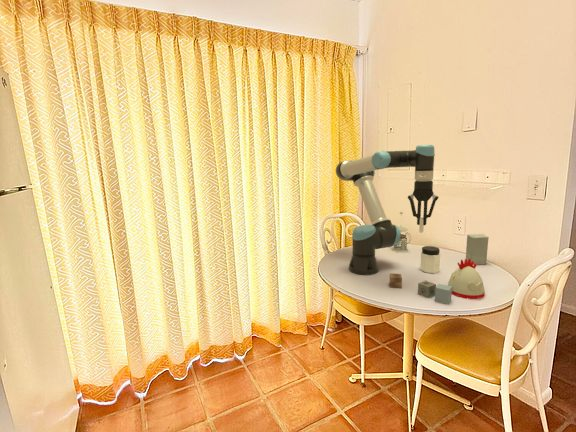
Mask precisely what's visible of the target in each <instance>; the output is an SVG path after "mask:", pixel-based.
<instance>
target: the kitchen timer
mask: <svg viewBox="0 0 576 432" xmlns="http://www.w3.org/2000/svg"><path fill="white" fill-rule="evenodd" d="M473 264H474V261H472V262H471V260H470V259H468V262H467V259H466V258H464V260H463V259H460V262H457V266H458V268H456V269H455V270H454V271H453V272H452V273H451V275H450V277H449V279H448V283H447V285H448V286H452V295H453V296H454V297H458V298H461V297H462V298H461V299H467V298H468V299H467V300H480V299H483V298H484V297H485V285H484V280H483V279H482V276H481V275H480V273H479V272H478V271H477V270H476V267H477V266H478V264H476V263H475V264H474V265H473Z"/></svg>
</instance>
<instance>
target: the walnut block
mask: <svg viewBox="0 0 576 432" xmlns="http://www.w3.org/2000/svg"><path fill="white" fill-rule="evenodd" d="M389 287H390V288H392V289H402V288H403V276H402V273H389Z"/></svg>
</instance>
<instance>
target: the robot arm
mask: <svg viewBox="0 0 576 432" xmlns="http://www.w3.org/2000/svg"><path fill="white" fill-rule="evenodd" d="M435 156H436V154H435V146H434V145H433V144H420V145H417V146H415V150H391V151H390V150H389V151H388V150H386V151H385V150H380V151H376V152H374V154H371V155H368V156H365V157H361V158H358V159H355V160H354V159H353V160H343V161H340V162H339V163H338V164H337V165H336V168H335V174H336V176H337V177H338V179H340V180H342V181H344V182H345V181H346V182H348V181H350V182H351V181H352V183H353V185H354V186H355V187H357V188H358V192H359V193H360V194H359V195H360V196H361V199H362V201H363V205H364V207H365V210H366V213H367V215H368V217H369V220H370V224H365V225H359V226H356V227H354V228H353V230H352V236H351V238H352V244H351V245H352V246H351V247H352V248H351V249H352V252H351V253H352V255H351V259H350V262H349V263H348V270H349V271H350V272H351V273H353V274H357V275H362V276H363V275H364V276H366V275H367V276H368V275H375V274H376V273H378V272H379V264H378V261H377V259H376V250H379V249H384V248H385V249H386V248H392V247H394V246H395V245H397V244H398V242H399V240H400V230H399V228H398V227H399V226H398V225H396V224H393V223H392V221H391V219H390V218H387V216H386V213H385V210H384V208H383V205H382V203H381V200H380V198H379V196H378V193H377V191H376V187H375V185H374V183H373V181H374V180H375V179H374V177H375V174H376V173H375V171H378V170H384V169H391V168H414V180H415V181H414V186H413V187H414V189H413V192H412V193H411V194H410V195H408V196H407V199H408V200H409V203H410V208H411V212H412V213H411V214H412V216H413V217H415V218H416V225H417V226H419V228H418V229H419V230H418V232H419V233H421V234H423V233H424V227H425V226H426V225H427V219H428V218H431V217H432V214H433V211H434V208H435V206H436V205H435V204H436V202H437V201H438V199H440V198H439V195H436V194H435V192H434V191H433V190H434V189H433V187H434V186H433V185H434V184H433V183H434V181H433V179H434V166H435V165H434V164H435V163H434V162H435ZM414 198H415V199H416V201H417V209H416V205H415V201H414ZM430 199H432V202H431V205H430V209H429V211H428V202H429V200H430ZM422 202H423V215H422ZM421 216H423V217H421ZM397 246H398V245H397Z"/></svg>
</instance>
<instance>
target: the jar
mask: <svg viewBox="0 0 576 432" xmlns="http://www.w3.org/2000/svg"><path fill="white" fill-rule="evenodd" d="M440 252H441V251H440V248H439V247H437V246H431V245H426V246H422V247H421V252H420V263H419V264H420V265H419V270H421V271H422V272H424V273H427V274H436V273H439V272H440V266H441V265H440V263H441V254H440Z"/></svg>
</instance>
